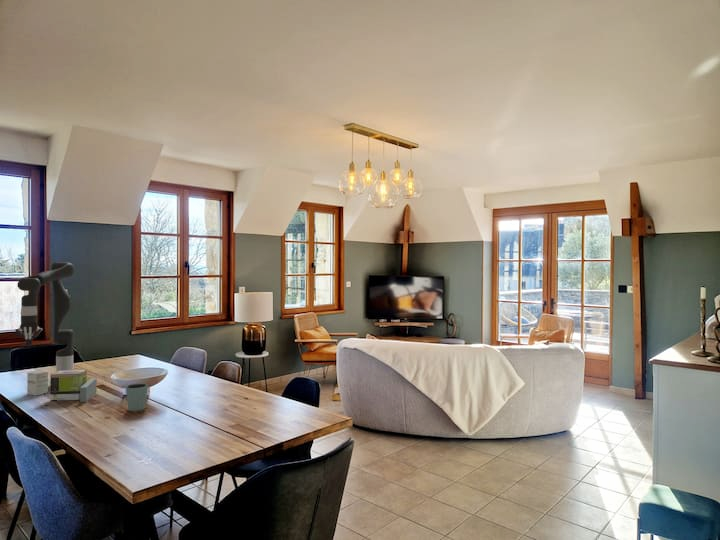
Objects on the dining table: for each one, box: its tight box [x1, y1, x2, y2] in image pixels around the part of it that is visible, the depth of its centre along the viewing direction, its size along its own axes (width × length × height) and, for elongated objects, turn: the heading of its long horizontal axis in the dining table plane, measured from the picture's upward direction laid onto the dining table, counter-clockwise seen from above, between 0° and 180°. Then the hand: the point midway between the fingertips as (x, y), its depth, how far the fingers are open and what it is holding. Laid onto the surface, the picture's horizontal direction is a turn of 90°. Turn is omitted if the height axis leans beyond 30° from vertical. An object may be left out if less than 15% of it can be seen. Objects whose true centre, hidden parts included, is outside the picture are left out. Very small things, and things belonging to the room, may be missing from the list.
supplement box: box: [26, 369, 49, 397], centre depth 278 cm, size 7×7×13 cm
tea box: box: [49, 369, 88, 401], centre depth 270 cm, size 15×10×15 cm
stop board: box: [79, 377, 98, 403], centre depth 273 cm, size 22×3×8 cm, turn 15°
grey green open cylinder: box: [125, 382, 149, 412], centre depth 251 cm, size 10×10×12 cm
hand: (29, 345), depth 268 cm, fingers closed
